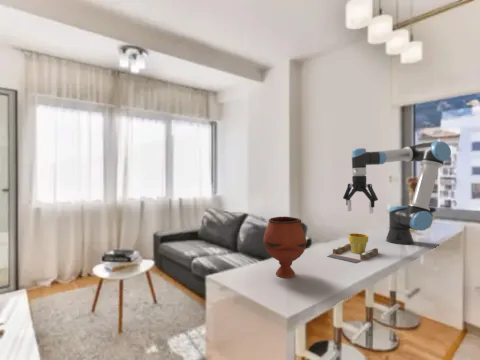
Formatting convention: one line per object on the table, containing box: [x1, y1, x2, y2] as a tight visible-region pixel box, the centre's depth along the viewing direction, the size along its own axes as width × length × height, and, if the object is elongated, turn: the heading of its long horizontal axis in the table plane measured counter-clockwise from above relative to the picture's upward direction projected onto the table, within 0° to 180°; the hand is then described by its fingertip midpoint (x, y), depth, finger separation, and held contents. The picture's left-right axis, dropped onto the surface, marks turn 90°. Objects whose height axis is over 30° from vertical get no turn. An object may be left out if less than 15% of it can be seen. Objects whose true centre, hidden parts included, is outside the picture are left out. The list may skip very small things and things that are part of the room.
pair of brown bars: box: [332, 243, 379, 261], centre depth 162 cm, size 19×17×3 cm
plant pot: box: [348, 232, 369, 255], centre depth 164 cm, size 10×10×10 cm
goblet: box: [262, 216, 307, 279], centre depth 130 cm, size 19×19×25 cm
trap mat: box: [326, 253, 362, 264], centre depth 153 cm, size 6×16×1 cm, turn 43°
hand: (360, 212), depth 169 cm, fingers open, 13 cm apart
